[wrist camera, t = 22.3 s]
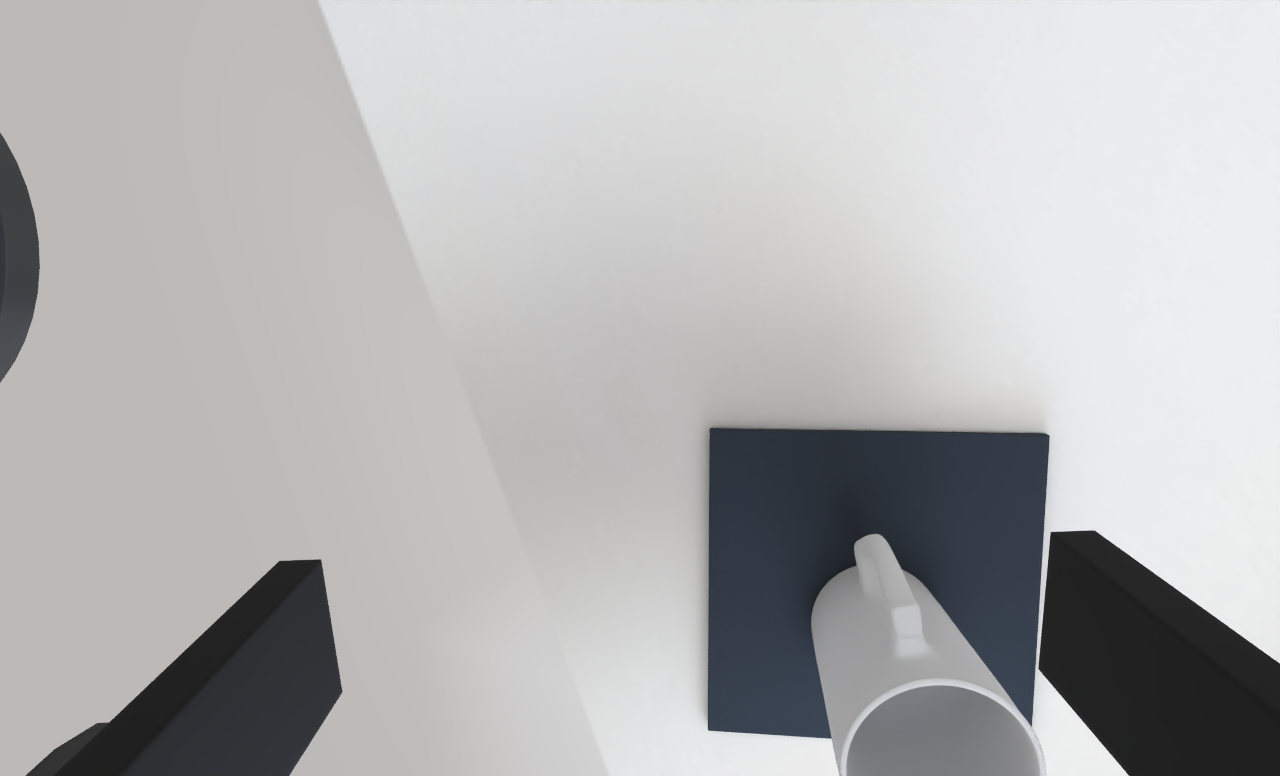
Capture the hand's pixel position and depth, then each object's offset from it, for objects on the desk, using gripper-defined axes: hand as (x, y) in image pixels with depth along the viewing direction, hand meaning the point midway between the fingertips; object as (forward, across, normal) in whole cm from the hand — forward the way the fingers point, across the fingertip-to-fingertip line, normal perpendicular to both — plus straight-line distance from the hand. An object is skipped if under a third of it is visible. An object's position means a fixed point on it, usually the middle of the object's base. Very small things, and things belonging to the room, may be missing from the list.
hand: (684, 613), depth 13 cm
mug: (+22, +10, -12) cm, 26 cm away
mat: (+22, +10, -12) cm, 27 cm away
